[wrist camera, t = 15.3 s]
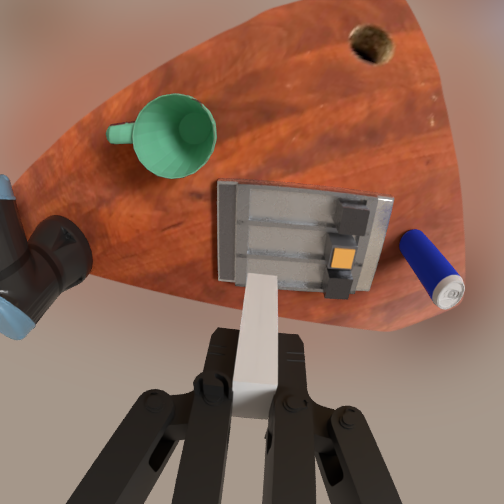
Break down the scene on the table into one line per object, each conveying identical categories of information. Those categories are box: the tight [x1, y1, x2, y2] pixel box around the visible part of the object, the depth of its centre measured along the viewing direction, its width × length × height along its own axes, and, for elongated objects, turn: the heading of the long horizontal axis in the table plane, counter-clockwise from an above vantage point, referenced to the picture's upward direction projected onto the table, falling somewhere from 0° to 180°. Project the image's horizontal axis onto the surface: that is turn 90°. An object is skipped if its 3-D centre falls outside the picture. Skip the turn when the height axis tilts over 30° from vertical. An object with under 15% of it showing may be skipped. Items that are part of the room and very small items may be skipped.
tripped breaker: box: [324, 232, 358, 270], centre depth 41 cm, size 4×4×4 cm
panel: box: [217, 178, 394, 299], centre depth 42 cm, size 26×17×6 cm, turn 87°
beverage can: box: [399, 229, 465, 309], centre depth 36 cm, size 5×5×15 cm
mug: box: [106, 93, 217, 179], centre depth 33 cm, size 15×10×10 cm
